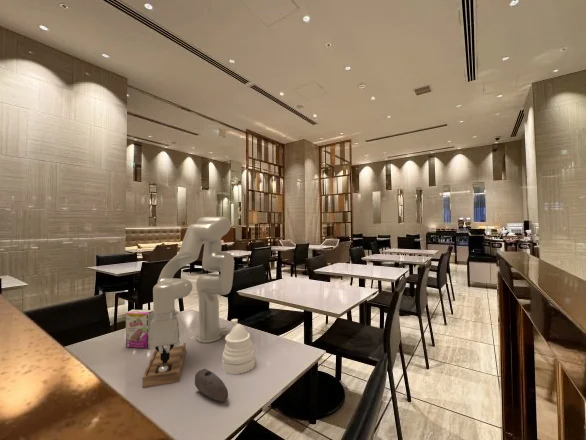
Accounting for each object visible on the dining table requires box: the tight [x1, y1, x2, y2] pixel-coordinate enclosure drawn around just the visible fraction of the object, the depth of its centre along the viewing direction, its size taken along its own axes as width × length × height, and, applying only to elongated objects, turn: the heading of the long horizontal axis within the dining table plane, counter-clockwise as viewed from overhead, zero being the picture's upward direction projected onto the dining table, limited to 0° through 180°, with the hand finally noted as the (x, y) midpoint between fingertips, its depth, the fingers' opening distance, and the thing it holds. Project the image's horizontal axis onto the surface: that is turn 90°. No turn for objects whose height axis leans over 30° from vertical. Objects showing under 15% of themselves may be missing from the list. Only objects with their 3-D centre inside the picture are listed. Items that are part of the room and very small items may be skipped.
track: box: [142, 342, 187, 388], centre depth 111 cm, size 24×12×4 cm, turn 16°
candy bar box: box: [124, 309, 154, 349], centre depth 129 cm, size 11×5×16 cm, turn 84°
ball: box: [157, 365, 170, 373], centre depth 105 cm, size 4×4×4 cm
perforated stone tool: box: [194, 368, 229, 403], centre depth 93 cm, size 15×5×7 cm, turn 51°
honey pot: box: [221, 318, 256, 375], centre depth 112 cm, size 13×13×18 cm
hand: (165, 361), depth 108 cm, fingers closed
